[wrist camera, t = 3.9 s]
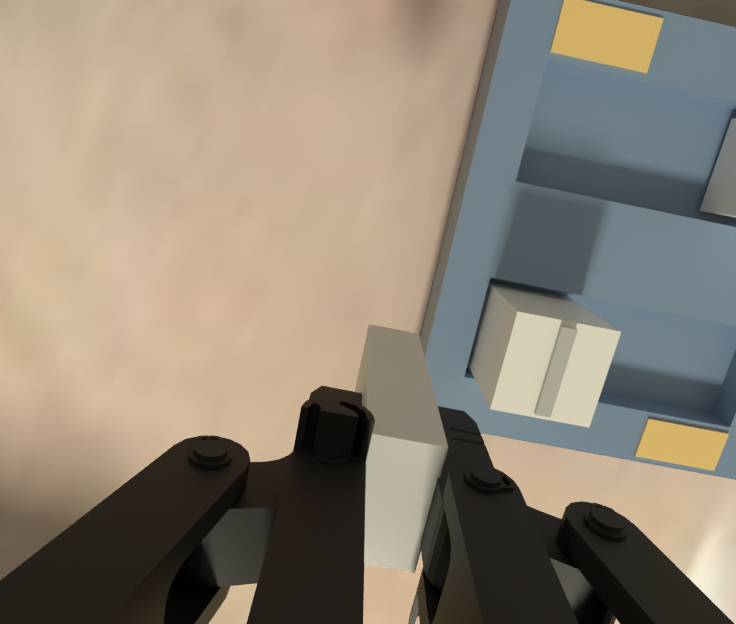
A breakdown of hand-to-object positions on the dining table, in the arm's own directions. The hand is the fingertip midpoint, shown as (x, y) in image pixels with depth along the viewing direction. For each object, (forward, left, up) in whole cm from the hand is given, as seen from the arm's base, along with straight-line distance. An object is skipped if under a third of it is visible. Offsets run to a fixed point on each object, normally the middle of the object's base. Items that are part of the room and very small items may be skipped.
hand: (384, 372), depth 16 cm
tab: (+7, 0, -10) cm, 12 cm away
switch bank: (+11, +4, -11) cm, 16 cm away
